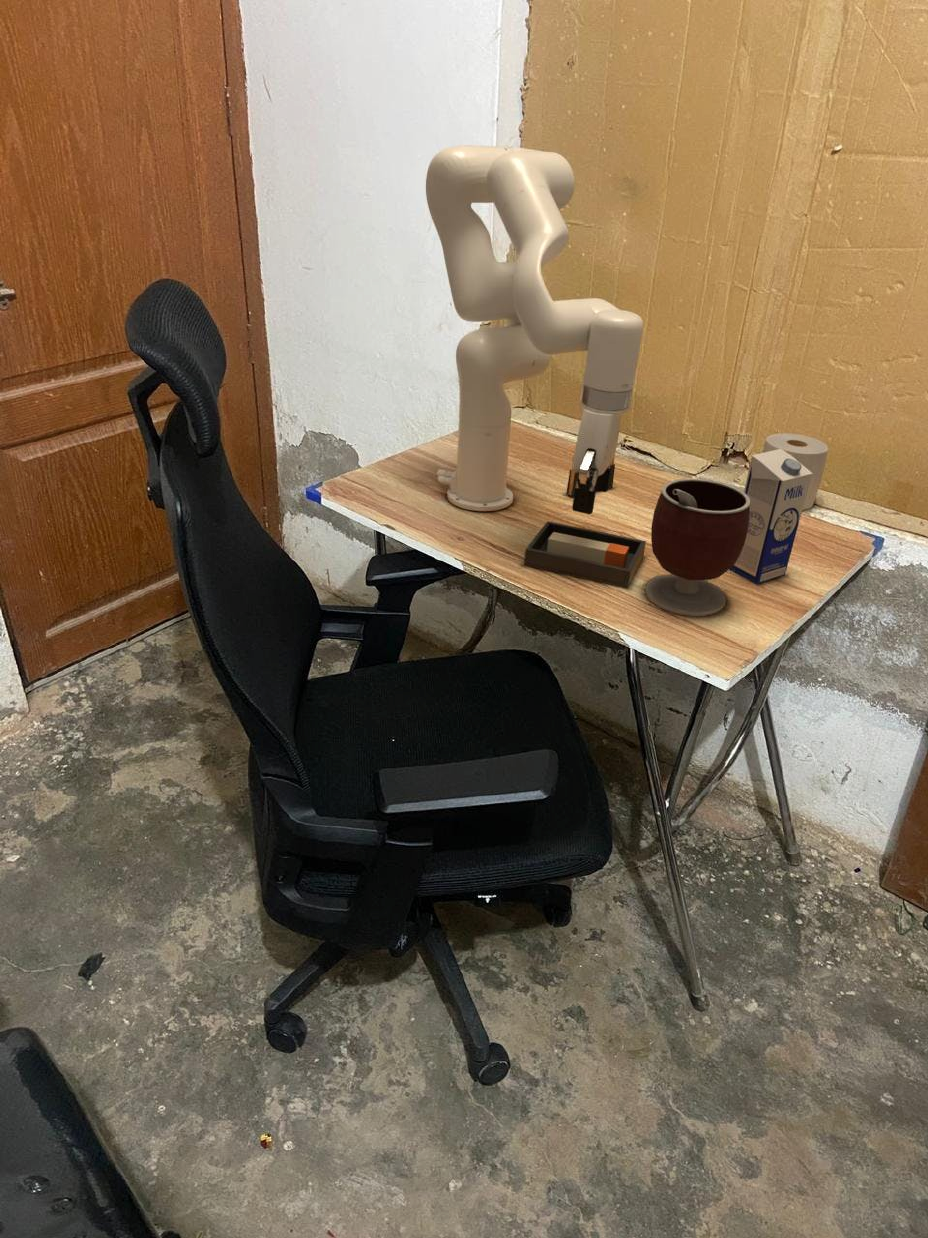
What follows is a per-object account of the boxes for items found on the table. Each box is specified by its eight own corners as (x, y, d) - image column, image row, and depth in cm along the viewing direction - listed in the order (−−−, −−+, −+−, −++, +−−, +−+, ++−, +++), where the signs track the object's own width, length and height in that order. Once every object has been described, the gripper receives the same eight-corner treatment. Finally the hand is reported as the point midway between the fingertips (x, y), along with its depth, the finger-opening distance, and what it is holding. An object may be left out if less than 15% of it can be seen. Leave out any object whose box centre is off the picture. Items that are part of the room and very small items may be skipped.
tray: (523, 565, 143) (525, 548, 141) (545, 536, 153) (547, 520, 151) (627, 588, 137) (630, 571, 136) (643, 556, 147) (646, 541, 146)
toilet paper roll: (783, 484, 180) (797, 430, 174) (827, 506, 171) (843, 449, 165) (739, 491, 175) (751, 436, 169) (782, 514, 166) (797, 457, 160)
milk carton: (754, 558, 149) (781, 447, 139) (785, 575, 144) (816, 460, 134) (725, 567, 145) (751, 453, 135) (756, 584, 141) (786, 468, 130)
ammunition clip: (572, 497, 168) (579, 438, 162) (565, 494, 170) (572, 435, 164) (612, 488, 174) (621, 430, 168) (606, 485, 175) (614, 427, 169)
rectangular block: (546, 554, 145) (548, 538, 144) (551, 547, 148) (553, 531, 146) (622, 571, 141) (625, 554, 140) (626, 563, 144) (629, 546, 142)
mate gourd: (674, 567, 145) (696, 453, 134) (747, 599, 136) (776, 480, 126) (616, 595, 135) (635, 474, 125) (691, 632, 127) (718, 505, 116)
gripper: (596, 378, 139) (581, 477, 148) (566, 408, 125) (552, 515, 134) (642, 386, 137) (624, 486, 146) (617, 417, 123) (599, 526, 132)
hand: (590, 500), depth 140 cm, fingers open, 9 cm apart
